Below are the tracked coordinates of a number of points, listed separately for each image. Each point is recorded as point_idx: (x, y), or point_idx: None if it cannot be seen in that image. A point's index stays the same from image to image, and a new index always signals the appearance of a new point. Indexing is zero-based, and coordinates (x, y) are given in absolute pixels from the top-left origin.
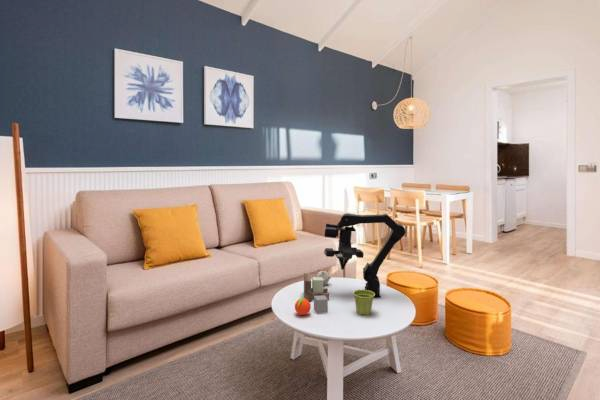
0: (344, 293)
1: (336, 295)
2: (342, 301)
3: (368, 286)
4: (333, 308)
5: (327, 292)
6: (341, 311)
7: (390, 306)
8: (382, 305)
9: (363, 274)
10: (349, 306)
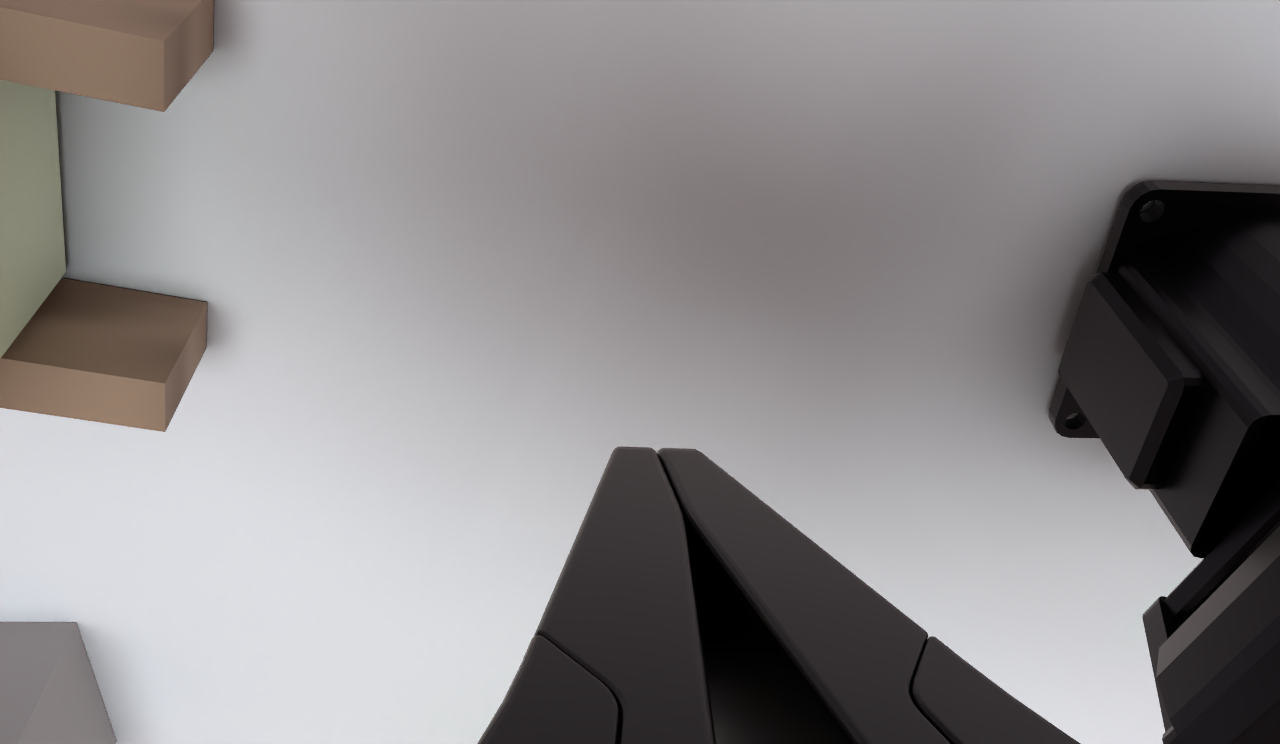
0: (687, 46)
1: (437, 133)
2: (471, 450)
3: (1178, 527)
4: (233, 653)
5: (186, 74)
6: (340, 741)
7: (1135, 708)
8: (1052, 669)
9: (1240, 736)
10: (524, 631)
